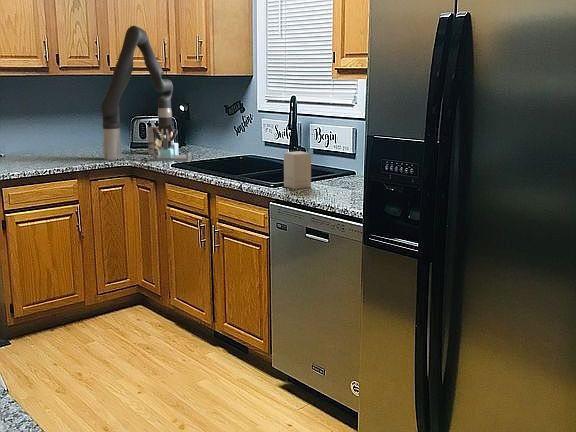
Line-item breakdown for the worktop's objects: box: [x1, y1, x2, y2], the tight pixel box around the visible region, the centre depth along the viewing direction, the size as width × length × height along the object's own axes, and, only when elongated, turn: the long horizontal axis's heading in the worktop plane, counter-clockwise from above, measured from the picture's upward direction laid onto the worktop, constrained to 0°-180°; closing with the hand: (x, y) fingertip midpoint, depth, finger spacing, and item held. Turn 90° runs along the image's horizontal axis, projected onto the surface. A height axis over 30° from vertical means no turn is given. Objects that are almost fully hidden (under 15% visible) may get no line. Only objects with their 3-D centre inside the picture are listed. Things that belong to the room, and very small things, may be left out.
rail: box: [152, 151, 192, 162], centre depth 354 cm, size 20×6×4 cm, turn 82°
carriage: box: [160, 138, 174, 158], centre depth 353 cm, size 6×5×10 cm
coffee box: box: [147, 126, 166, 156], centre depth 378 cm, size 9×6×16 cm
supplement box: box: [283, 150, 312, 190], centre depth 275 cm, size 9×9×15 cm
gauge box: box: [161, 142, 180, 155], centre depth 364 cm, size 8×8×8 cm
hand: (166, 147), depth 353 cm, fingers closed on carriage, 2 cm apart
